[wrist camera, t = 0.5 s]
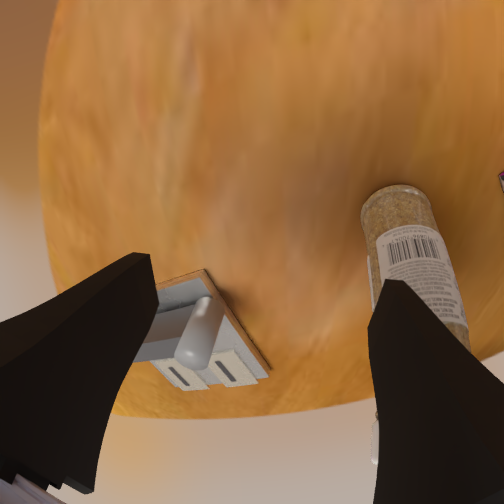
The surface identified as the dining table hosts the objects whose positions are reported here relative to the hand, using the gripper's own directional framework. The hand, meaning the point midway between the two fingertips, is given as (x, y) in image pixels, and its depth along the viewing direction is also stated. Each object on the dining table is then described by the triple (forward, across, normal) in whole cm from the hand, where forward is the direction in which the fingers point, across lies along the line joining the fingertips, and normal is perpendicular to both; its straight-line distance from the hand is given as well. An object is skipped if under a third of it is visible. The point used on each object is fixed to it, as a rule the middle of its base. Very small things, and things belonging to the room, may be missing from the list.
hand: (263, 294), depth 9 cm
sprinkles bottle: (+9, -7, 0) cm, 12 cm away
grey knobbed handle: (+8, +9, +11) cm, 17 cm away
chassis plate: (+10, +7, +14) cm, 19 cm away
